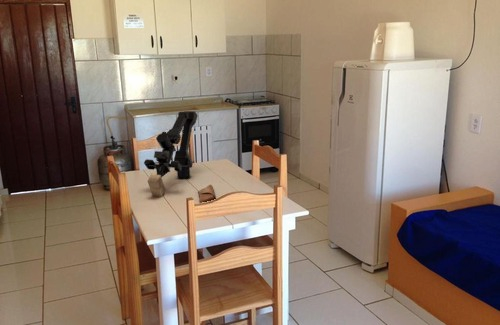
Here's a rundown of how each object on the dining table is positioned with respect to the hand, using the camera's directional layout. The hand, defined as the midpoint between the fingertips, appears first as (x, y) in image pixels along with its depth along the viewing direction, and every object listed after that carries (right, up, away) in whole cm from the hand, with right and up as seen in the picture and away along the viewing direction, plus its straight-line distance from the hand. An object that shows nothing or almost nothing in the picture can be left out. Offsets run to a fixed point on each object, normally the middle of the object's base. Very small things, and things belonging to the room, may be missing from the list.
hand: (157, 179), depth 219 cm
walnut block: (0, -7, +2) cm, 7 cm away
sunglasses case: (+24, -9, -1) cm, 26 cm away
